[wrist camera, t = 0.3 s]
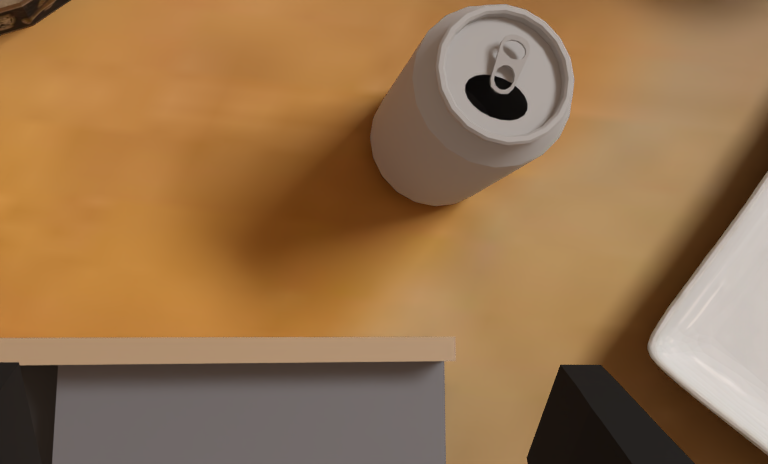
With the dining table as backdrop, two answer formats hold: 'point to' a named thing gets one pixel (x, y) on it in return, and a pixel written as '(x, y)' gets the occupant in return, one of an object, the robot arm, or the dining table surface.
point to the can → (473, 104)
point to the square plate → (725, 326)
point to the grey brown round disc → (25, 13)
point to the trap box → (235, 399)
